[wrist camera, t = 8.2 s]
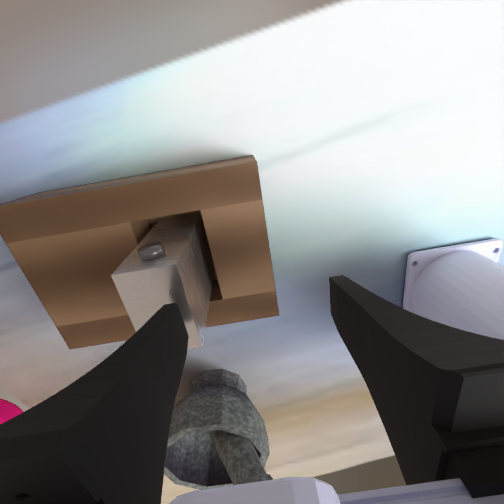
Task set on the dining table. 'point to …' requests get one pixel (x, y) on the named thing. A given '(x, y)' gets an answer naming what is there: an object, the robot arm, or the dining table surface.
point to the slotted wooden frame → (131, 234)
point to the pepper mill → (8, 411)
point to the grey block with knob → (169, 275)
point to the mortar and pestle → (216, 435)
